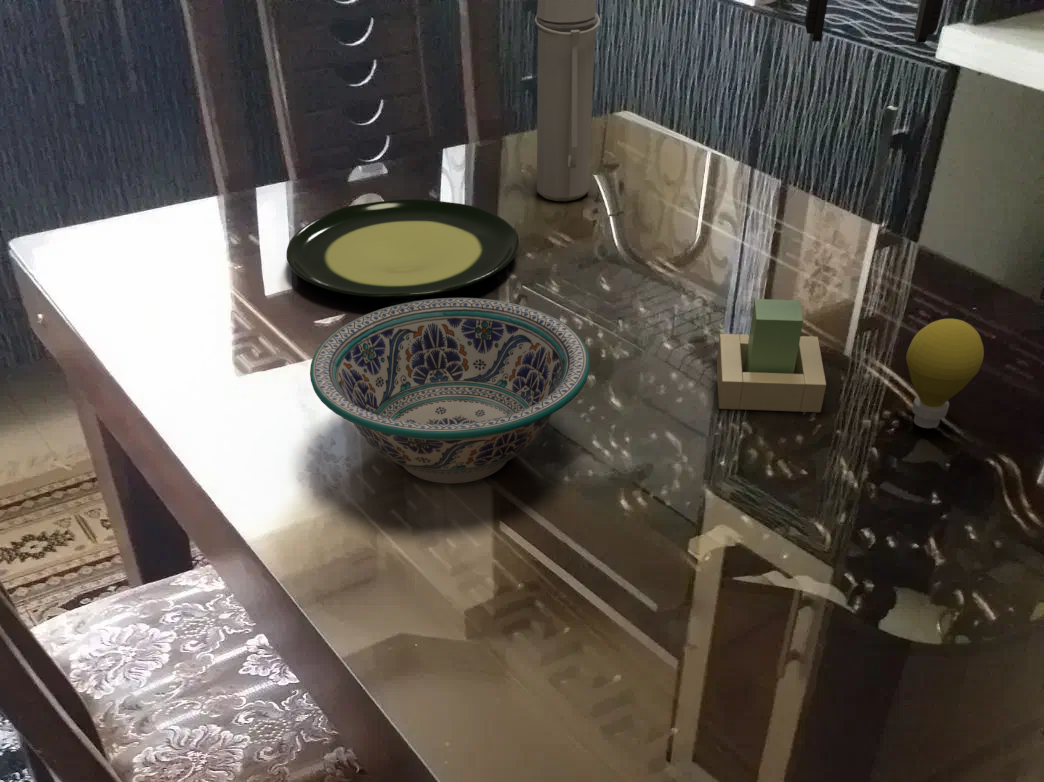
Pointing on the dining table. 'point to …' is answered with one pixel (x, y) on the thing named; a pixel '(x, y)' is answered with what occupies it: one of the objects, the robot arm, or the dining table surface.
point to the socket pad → (769, 379)
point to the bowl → (450, 382)
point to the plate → (402, 248)
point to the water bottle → (565, 96)
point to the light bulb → (942, 366)
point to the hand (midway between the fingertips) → (867, 39)
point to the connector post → (774, 336)
